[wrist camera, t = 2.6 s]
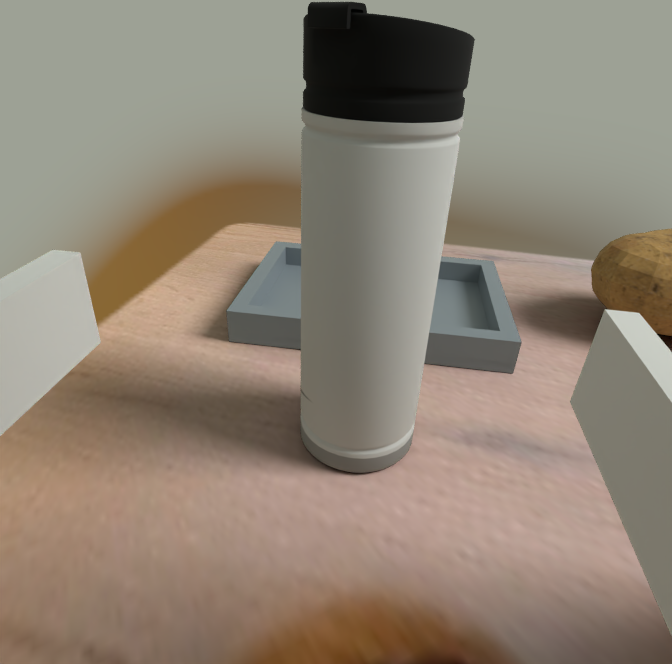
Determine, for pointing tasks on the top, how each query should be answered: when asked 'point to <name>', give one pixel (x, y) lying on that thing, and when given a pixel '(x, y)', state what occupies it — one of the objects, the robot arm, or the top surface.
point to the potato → (637, 277)
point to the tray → (446, 323)
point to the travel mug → (372, 222)
